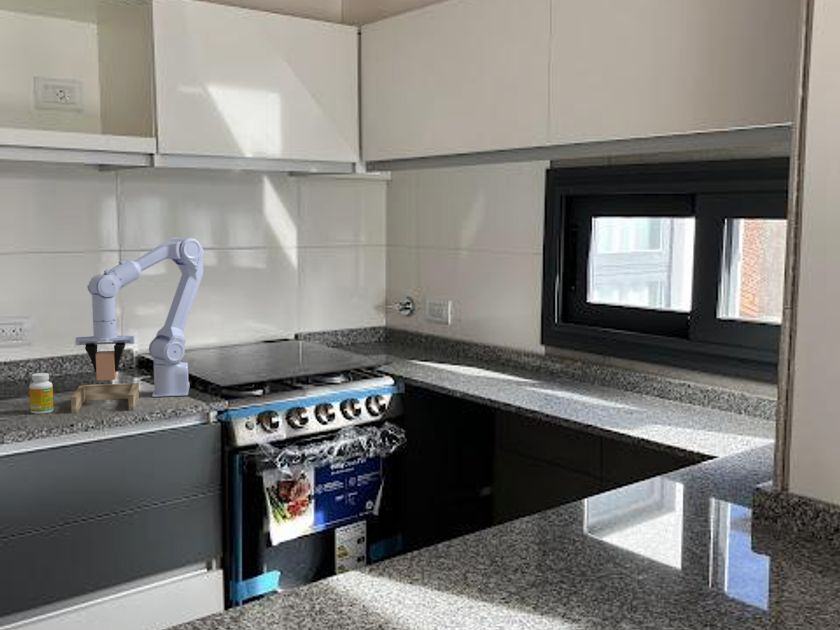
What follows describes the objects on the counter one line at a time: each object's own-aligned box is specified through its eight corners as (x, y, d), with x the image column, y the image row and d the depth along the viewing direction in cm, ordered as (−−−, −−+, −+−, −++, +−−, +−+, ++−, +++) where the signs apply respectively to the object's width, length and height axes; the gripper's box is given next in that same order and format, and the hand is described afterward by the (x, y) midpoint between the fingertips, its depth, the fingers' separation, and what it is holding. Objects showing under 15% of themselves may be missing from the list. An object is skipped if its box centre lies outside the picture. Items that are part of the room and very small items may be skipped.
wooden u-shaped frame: (139, 397, 239) (139, 383, 239) (134, 410, 224) (133, 394, 223) (80, 399, 236) (80, 385, 236) (71, 412, 220) (70, 397, 220)
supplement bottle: (45, 414, 219) (43, 376, 217) (25, 413, 220) (24, 375, 218) (58, 410, 224) (56, 372, 223) (39, 409, 225) (37, 371, 224)
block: (116, 376, 234) (115, 350, 233) (114, 379, 229) (113, 353, 229) (98, 377, 233) (97, 351, 232) (96, 380, 228) (95, 354, 228)
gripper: (72, 322, 224) (75, 375, 225) (131, 321, 227) (133, 372, 229) (77, 319, 231) (79, 370, 232) (134, 318, 234) (136, 368, 235)
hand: (106, 371), depth 231 cm, fingers closed on block, 4 cm apart
